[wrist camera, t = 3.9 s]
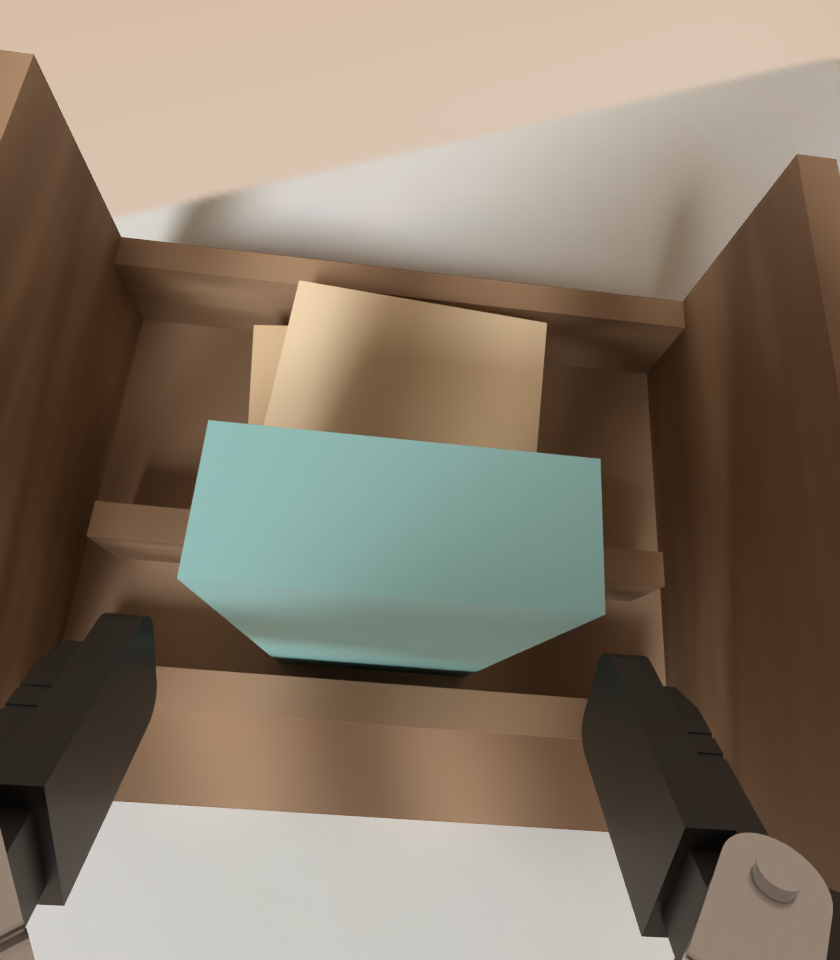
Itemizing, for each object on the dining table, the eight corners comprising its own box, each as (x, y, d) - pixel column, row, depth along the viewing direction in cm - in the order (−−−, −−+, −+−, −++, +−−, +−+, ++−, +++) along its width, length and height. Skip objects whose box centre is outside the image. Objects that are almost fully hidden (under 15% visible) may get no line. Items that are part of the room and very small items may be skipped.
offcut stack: (512, 379, 24) (547, 303, 19) (510, 524, 22) (547, 476, 17) (269, 353, 23) (251, 270, 19) (245, 500, 21) (217, 444, 17)
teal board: (466, 603, 21) (600, 458, 9) (464, 677, 20) (605, 614, 9) (289, 588, 20) (208, 420, 9) (278, 663, 20) (177, 578, 8)
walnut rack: (654, 373, 26) (836, 159, 16) (685, 830, 20) (991, 927, 11) (133, 316, 25) (-12, 48, 15) (11, 787, 19) (-351, 852, 9)
